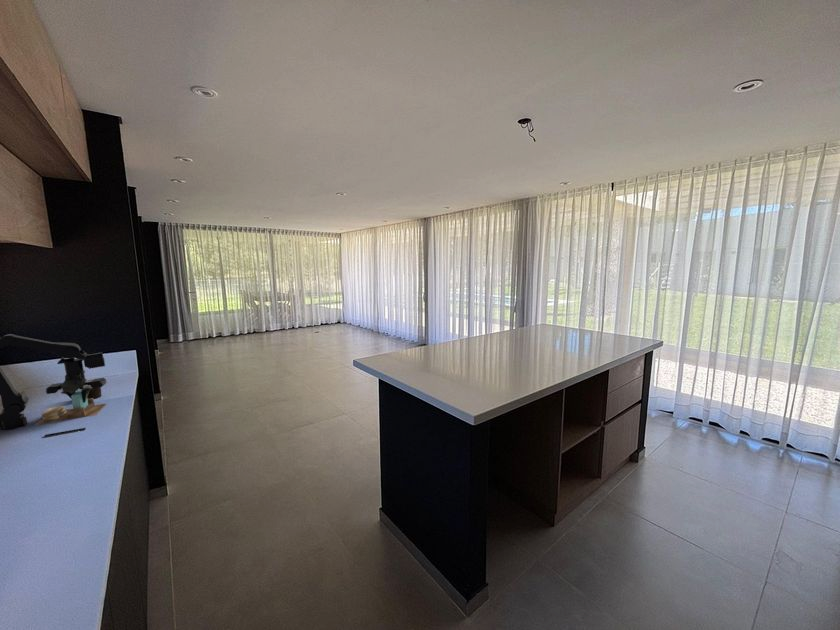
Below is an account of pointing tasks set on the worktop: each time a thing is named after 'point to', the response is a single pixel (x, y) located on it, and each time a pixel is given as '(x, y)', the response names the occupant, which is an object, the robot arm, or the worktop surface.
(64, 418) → the walnut rack
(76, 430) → the charcoal mat
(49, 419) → the oak offcut lower
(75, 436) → the worktop surface
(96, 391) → the coffee mug
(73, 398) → the teal rectangular block
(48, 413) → the oak offcut upper
